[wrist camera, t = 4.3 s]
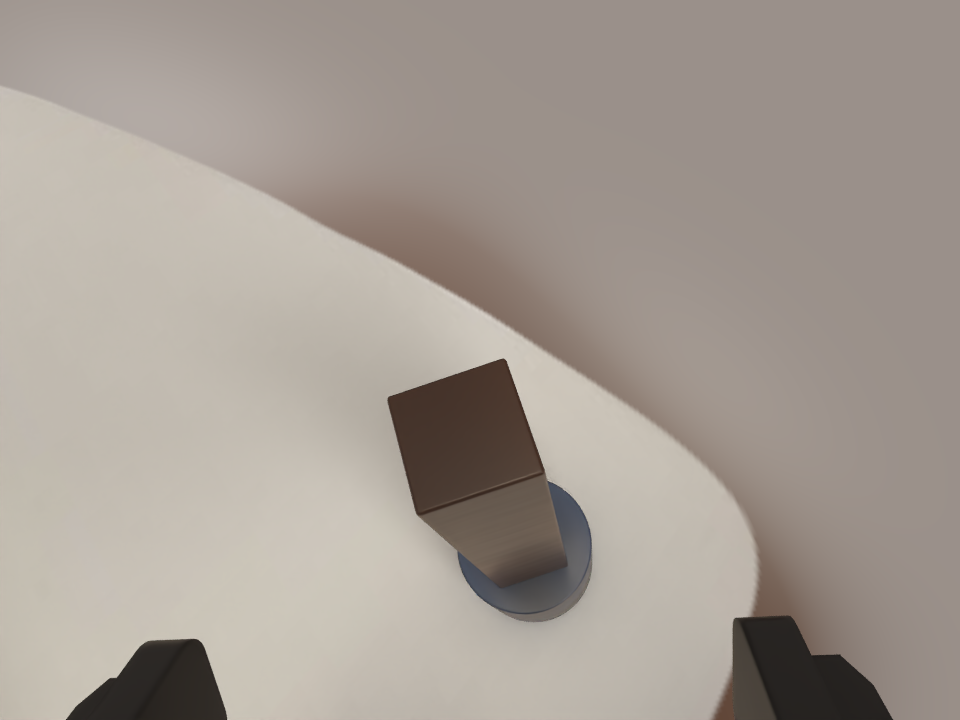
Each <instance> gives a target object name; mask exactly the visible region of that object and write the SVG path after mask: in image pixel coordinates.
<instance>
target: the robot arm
mask: <svg viewBox="0 0 960 720" xmlns="http://www.w3.org/2000/svg"><path fill="white" fill-rule="evenodd" d="M733 709H734V716H735V720H893V719H892V717H891V716H890V714H889V712H888V710H887V708H886V707H885V705H884V703H883V701H882V699H881V698H880V696H879V694H878V693H877V691H876V689H875V687H874V685H873V684H872V683H871V682H869V681H868V680H867V679H866V678H865V677H864V676H863V675H862V674H861V673H859V672H858V671H857V670H856V669H855V668H854V667H853V666H851V664H849V663H848V662H847V661H846V660H845V659H844V658H843V657H841V655H813V656H811V654H810V651H809V650H808V648H807V645H806V643H805V641H804V639H803V637H802V635H801V633H800V631H799V629H798V627H797V625H796V623H795V621H794V620H793V618H792V617H791V616H768V617H743V618H735V619H734V621H733ZM66 720H227V715H226V710H225V707H224V704H223V701H222V698H221V695H220V692H219V689H218V686H217V683H216V680H215V677H214V674H213V671H212V669H211V666H210V663H209V660H208V657H207V654H206V651H205V648H204V646H203V644H202V643H201V642H200V641H199V640H197V639H180V640H156V641H148V642H146V643H144V644H143V645H141V646H140V647H139V649H138V650H137V651H136V652H135V654H134V655H133V657H132V658H131V659H130V661H129V662H128V663H127V665H126V666H125V667H124V669H123V670H122V672H121V673H120V674H119V676H118V677H117V678H110V679H108V680H107V681H106V682H105V683H104V684H102V685H101V686H100V687H99V688H98V689H96V690H95V691H94V692H93V693H92V694H90V695H89V696H88V697H87V698H86V699H84V700H83V701H82V702H81V703H80V704H78V705H77V706H76V707H75V709H74V710H73V711H72V712H71V714H70V715H69V716H68V718H67V719H66Z"/></svg>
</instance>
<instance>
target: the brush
mask: <svg viewBox="0 0 960 720" xmlns="http://www.w3.org/2000/svg"><path fill="white" fill-rule="evenodd" d="M387 401H388V405H389V409H390V413H391V417H392V421H393V425H394V429H395V433H396V437H397V441H398V445H399V448H400V452H401V456H402V460H403V464H404V468H405V472H406V476H407V480H408V484H409V488H410V492H411V496H412V500H413V504H414V508H415V511H416V514H417V515H418V516H419V517H420V518H421V519H422V520H423V521H424V522H425V523H427V524H428V525H429V526H430V527H431V528H432V529H433V530H435V531H436V532H437V533H438V534H439V535H440V536H441V537H443V538H444V539H445V540H446V541H447V542H448V543H449V544H451V545H452V546H453V547H454V548H455V549H456V550H457V552H458V559H459V564H460V567H461V570H462V573H463V575H464V577H465V579H466V581H467V582H468V584H469V585H470V587H471V588H472V589H473V591H474V592H475V593H476V594H477V595H478V596H479V597H480V598H481V599H483V600H484V601H485V602H487V603H488V604H490V605H491V606H493V607H494V608H496V609H497V610H499V611H501V612H502V613H504V614H505V615H508V616H510V617H512V618H514V619H517V620H521V621H527V622H541V621H547V620H551V619H554V618H556V617H558V616H560V615H562V614H564V613H565V612H567V611H568V610H569V609H571V608H572V607H573V606H574V605H575V604H576V603H577V602H578V601H579V599H580V598H581V596H582V595H583V593H584V591H585V590H586V588H587V585H588V582H589V580H590V575H591V569H592V542H591V533H590V529H589V525H588V522H587V519H586V517H585V515H584V513H583V511H582V510H581V508H580V506H579V505H578V504H577V502H576V501H575V500H574V499H573V498H572V497H571V496H570V495H569V494H568V493H567V492H566V491H564V490H563V489H562V488H560V487H559V486H557V485H555V484H553V483H551V482H549V481H547V478H546V474H545V470H544V467H543V464H542V461H541V459H540V456H539V453H538V450H537V447H536V444H535V441H534V439H533V436H532V433H531V430H530V427H529V424H528V421H527V419H526V416H525V413H524V410H523V407H522V404H521V401H520V398H519V396H518V393H517V390H516V387H515V384H514V381H513V378H512V376H511V373H510V370H509V367H508V364H507V361H506V360H505V359H500V360H497V361H494V362H491V363H488V364H485V365H482V366H479V367H476V368H473V369H470V370H467V371H464V372H461V373H458V374H455V375H452V376H449V377H446V378H443V379H440V380H437V381H434V382H431V383H428V384H425V385H422V386H420V387H417V388H414V389H411V390H408V391H405V392H402V393H399V394H396V395H393V396H390V397H388V400H387Z"/></svg>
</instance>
